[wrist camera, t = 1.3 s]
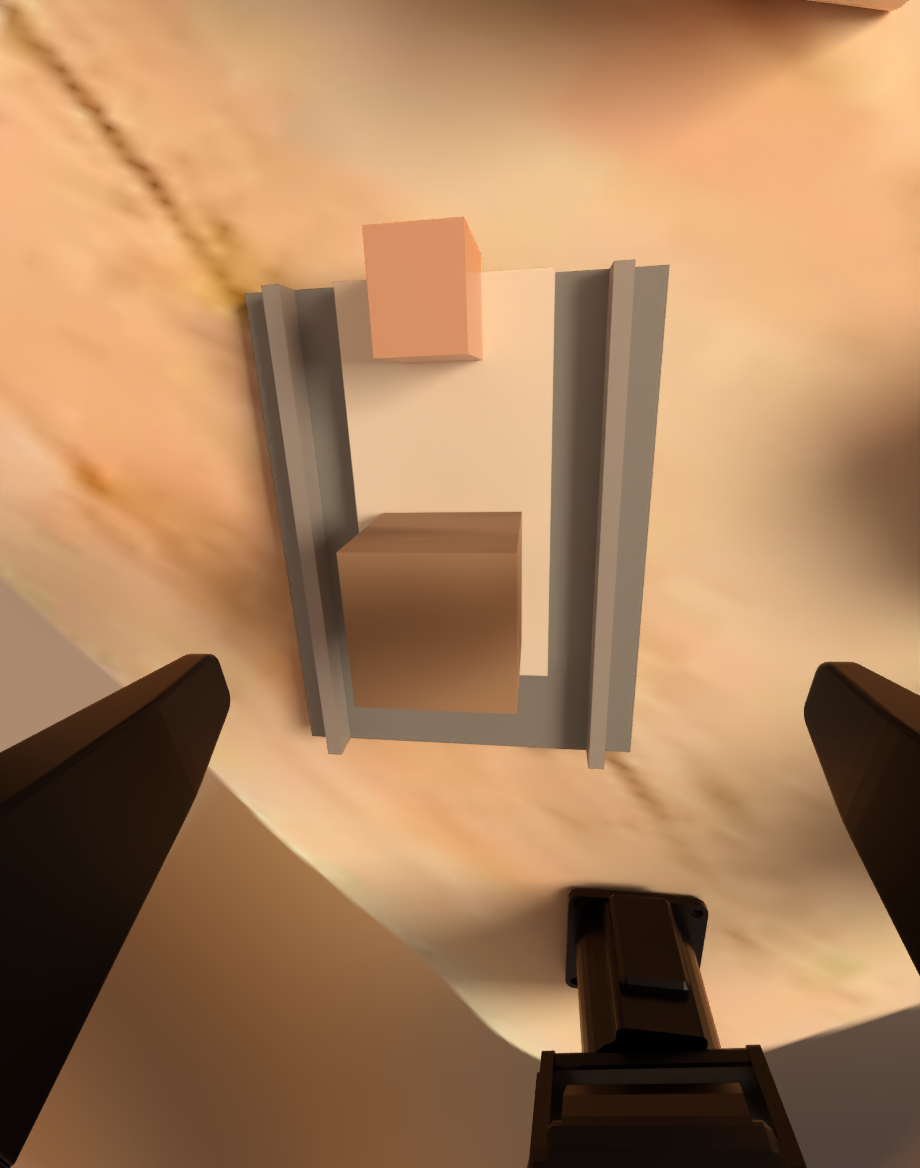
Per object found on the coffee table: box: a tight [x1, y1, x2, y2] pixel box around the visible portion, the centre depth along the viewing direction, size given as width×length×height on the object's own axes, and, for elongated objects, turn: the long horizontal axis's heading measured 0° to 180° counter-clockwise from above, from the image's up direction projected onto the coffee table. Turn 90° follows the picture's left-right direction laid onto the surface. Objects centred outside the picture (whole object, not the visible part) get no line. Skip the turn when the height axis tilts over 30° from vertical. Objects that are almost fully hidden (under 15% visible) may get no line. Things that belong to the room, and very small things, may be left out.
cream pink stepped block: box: [333, 217, 555, 676], centre depth 18 cm, size 14×7×5 cm, turn 2°
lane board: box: [245, 260, 669, 769], centre depth 21 cm, size 18×14×2 cm
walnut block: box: [336, 512, 522, 714], centre depth 18 cm, size 5×5×5 cm
